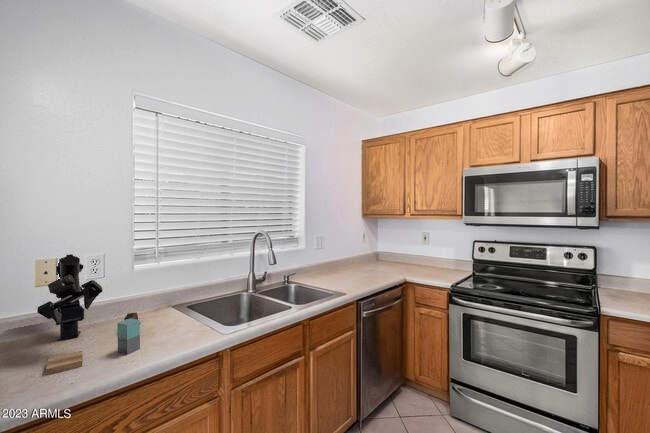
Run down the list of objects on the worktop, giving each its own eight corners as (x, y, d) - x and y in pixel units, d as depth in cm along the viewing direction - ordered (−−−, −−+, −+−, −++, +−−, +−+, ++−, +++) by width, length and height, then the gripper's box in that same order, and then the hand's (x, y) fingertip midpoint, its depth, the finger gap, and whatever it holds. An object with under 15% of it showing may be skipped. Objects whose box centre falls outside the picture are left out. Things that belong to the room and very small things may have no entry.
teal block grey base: (117, 352, 112) (117, 322, 112) (130, 346, 117) (130, 318, 117) (127, 354, 111) (126, 324, 110) (140, 348, 115) (139, 320, 115)
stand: (48, 364, 104) (48, 358, 104) (82, 356, 109) (82, 350, 109) (46, 375, 97) (45, 369, 97) (82, 366, 102) (82, 360, 102)
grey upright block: (140, 325, 139) (140, 308, 139) (134, 333, 130) (133, 316, 129) (129, 326, 138) (129, 309, 137) (122, 334, 128) (121, 317, 128)
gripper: (25, 288, 108) (23, 321, 99) (82, 260, 114) (85, 289, 105) (49, 303, 116) (49, 335, 107) (100, 276, 122) (105, 305, 113)
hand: (72, 316), depth 107 cm, fingers open, 9 cm apart
